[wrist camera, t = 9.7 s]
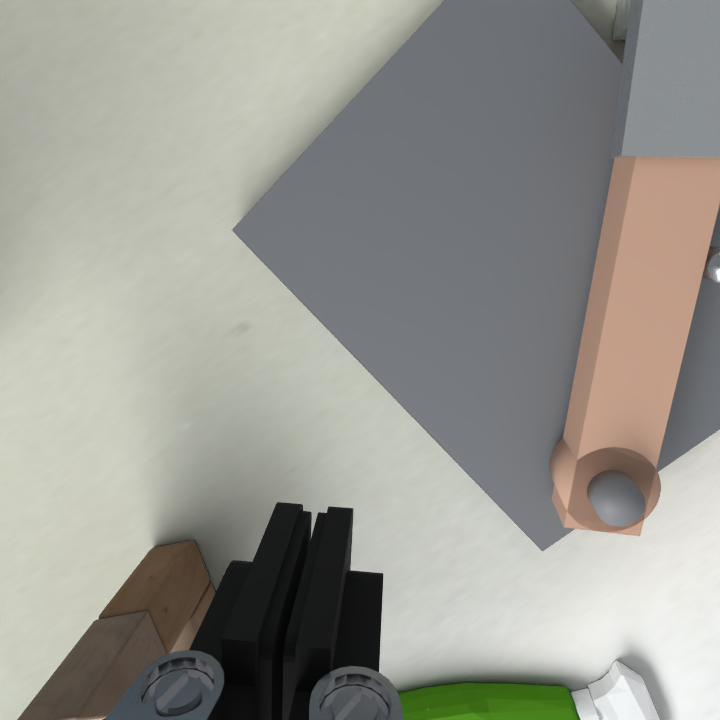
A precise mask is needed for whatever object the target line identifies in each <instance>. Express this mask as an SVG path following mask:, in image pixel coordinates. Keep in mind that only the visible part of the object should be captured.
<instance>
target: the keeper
mask: <svg viewBox="0 0 720 720" xmlns="http://www.w3.org/2000/svg"><path fill="white" fill-rule="evenodd" d="M612 40H626V42H625V49H624V57H623V64H622V71H621V79H620V86H619V93H618V101H617V108H616V116H615V123H614V130H613V138H612V145H611V152H610V158H637V159H716V160H720V0H617V7H616V15H615V23H614V30H613V38H612ZM702 278H703V279H706V280H710V281H713V282H717V283H720V247H716V246H709V250H708V254H707V259H706V263H705V267H704V271H703V275H702Z"/></svg>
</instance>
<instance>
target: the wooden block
mask: <svg viewBox="0 0 720 720" xmlns="http://www.w3.org/2000/svg"><path fill="white" fill-rule="evenodd" d="M209 582H210V577H209V574H208V572H207V569H206V566H205V564H204V561H203V559H202V556H201V554H200V551H199V549H198V546H197V544H196V542H195V541H193V540H190V541H185V542H180V543H175V544H169V545H164V546H159V547H154V548H152V549H151V550H150V551H149V552H148V554H147V555H146V556H145V557H144V559H143V560H142V561H141V562H140V564H139V565H138V566H137V568H136V569H135V570H134V571H133V573H132V574H131V575H130V577H129V578H128V579H127V580H126V582H125V583H124V584H123V586H122V587H121V588H120V589H119V591H118V592H117V593H116V595H115V596H114V597H113V598H112V600H111V601H110V602H109V604H108V605H107V606H106V607H105V609H104V610H103V611H102V613H101V614H100V615H99V619H98V620H95V621H94V622H93V623H92V625H91V626H90V627H89V629H88V630H87V631H86V632H85V634H84V635H83V636H82V638H81V639H80V640H79V641H78V643H77V644H76V645H75V647H74V648H73V649H72V650H71V652H70V653H69V654H68V656H67V657H66V658H65V659H64V661H63V662H62V663H61V664H60V666H59V667H58V668H57V670H56V671H55V672H54V673H53V675H52V676H51V677H50V679H49V680H48V681H47V682H46V684H45V685H44V686H43V688H42V689H41V690H40V691H39V693H38V694H37V695H36V697H35V698H34V699H33V700H32V702H31V703H30V704H29V706H28V707H27V708H26V709H25V711H24V712H23V713H22V715H21V716H20V717H19V718H18V720H90V719H99V718H106V717H107V716H108V714H109V713H110V712H111V710H112V709H113V708H114V706H115V705H116V704H117V702H118V701H119V700H120V698H121V697H122V696H123V694H124V693H125V692H126V690H127V689H128V688H129V686H130V685H131V684H132V682H133V681H134V680H135V678H136V677H137V676H138V674H139V673H140V672H141V671H142V670H143V669H144V668H145V667H146V666H147V665H148V664H150V663H152V662H153V661H155V660H156V659H158V658H159V657H162V656H164V655H167V654H169V653H172V652H177V651H184V650H189V649H190V647H191V644H192V642H193V640H194V638H195V636H196V634H197V632H198V630H199V627H200V625H201V623H202V621H203V619H204V617H205V615H206V613H207V610H208V608H209V606H210V604H211V602H212V600H213V598H214V596H215V590H214V588H213V585H212V584H210V583H209Z"/></svg>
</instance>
